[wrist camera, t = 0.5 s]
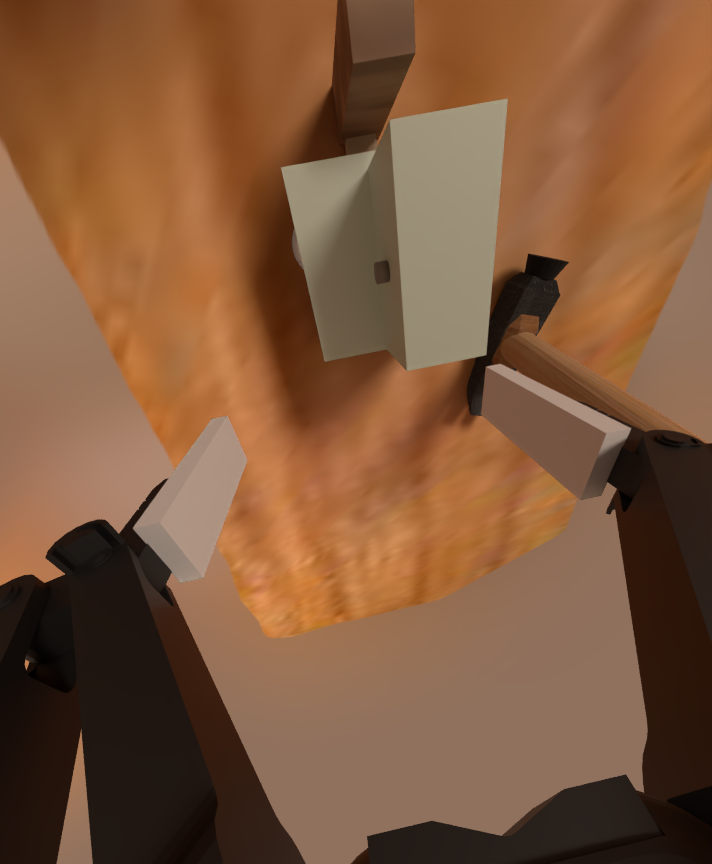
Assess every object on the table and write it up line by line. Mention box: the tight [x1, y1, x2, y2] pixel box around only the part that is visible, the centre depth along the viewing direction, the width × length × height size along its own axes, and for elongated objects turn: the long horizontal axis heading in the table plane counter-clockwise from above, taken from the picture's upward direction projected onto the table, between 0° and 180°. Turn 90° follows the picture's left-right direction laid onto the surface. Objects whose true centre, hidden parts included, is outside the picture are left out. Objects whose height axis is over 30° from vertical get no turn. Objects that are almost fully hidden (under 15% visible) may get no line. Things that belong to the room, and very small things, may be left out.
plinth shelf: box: [281, 99, 508, 371], centre depth 26 cm, size 16×14×16 cm
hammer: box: [467, 254, 708, 443], centre depth 28 cm, size 20×5×30 cm, turn 174°
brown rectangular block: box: [332, 0, 415, 156], centre depth 25 cm, size 18×4×12 cm, turn 10°
